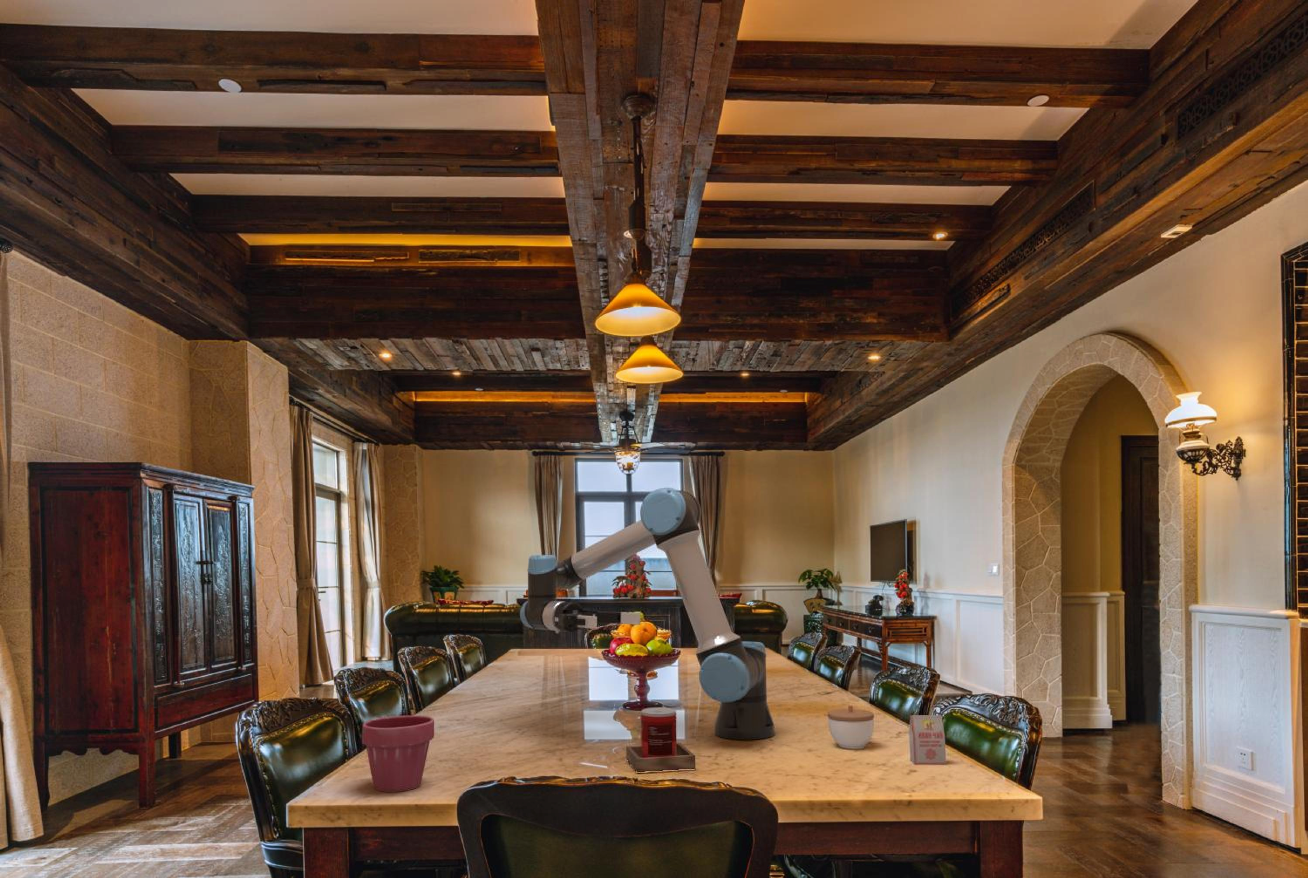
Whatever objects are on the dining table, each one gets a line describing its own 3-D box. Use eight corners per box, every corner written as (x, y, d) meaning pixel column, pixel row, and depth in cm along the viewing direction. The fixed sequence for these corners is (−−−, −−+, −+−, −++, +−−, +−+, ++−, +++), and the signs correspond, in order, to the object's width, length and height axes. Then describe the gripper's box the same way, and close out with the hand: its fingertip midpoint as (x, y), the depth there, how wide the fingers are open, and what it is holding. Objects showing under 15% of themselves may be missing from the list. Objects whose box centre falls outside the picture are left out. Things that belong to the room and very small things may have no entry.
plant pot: (370, 778, 184) (372, 715, 186) (438, 776, 185) (440, 713, 187) (352, 797, 170) (354, 728, 172) (426, 794, 171) (427, 726, 173)
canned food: (660, 756, 198) (660, 705, 199) (684, 762, 192) (683, 710, 193) (634, 761, 193) (633, 710, 194) (657, 768, 187) (657, 715, 188)
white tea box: (910, 760, 194) (908, 713, 195) (941, 760, 194) (939, 713, 195) (914, 764, 190) (912, 716, 192) (946, 764, 190) (943, 716, 191)
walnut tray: (680, 756, 200) (680, 743, 200) (695, 770, 188) (695, 755, 188) (626, 760, 197) (626, 746, 198) (637, 774, 185) (637, 759, 185)
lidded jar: (837, 739, 216) (836, 700, 217) (880, 744, 210) (879, 703, 212) (822, 748, 207) (821, 707, 208) (867, 753, 201) (865, 711, 202)
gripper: (602, 628, 233) (656, 633, 217) (523, 635, 216) (576, 641, 201) (602, 599, 234) (656, 602, 218) (523, 604, 217) (576, 607, 202)
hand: (618, 620), depth 209 cm, fingers open, 13 cm apart
